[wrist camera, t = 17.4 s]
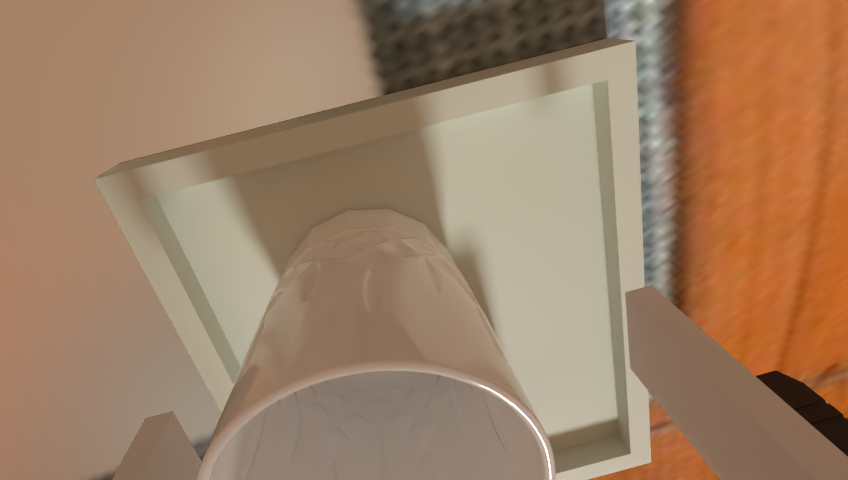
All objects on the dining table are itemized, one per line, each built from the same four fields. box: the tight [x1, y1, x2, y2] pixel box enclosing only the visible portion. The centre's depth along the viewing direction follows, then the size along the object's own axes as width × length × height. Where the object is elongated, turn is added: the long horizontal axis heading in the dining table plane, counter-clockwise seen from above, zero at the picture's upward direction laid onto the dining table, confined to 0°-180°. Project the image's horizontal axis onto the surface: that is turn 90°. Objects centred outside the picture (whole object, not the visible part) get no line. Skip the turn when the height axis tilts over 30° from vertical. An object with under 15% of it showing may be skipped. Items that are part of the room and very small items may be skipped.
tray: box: [94, 38, 651, 480], centre depth 21 cm, size 20×18×2 cm
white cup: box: [196, 209, 556, 480], centre depth 15 cm, size 8×8×10 cm
